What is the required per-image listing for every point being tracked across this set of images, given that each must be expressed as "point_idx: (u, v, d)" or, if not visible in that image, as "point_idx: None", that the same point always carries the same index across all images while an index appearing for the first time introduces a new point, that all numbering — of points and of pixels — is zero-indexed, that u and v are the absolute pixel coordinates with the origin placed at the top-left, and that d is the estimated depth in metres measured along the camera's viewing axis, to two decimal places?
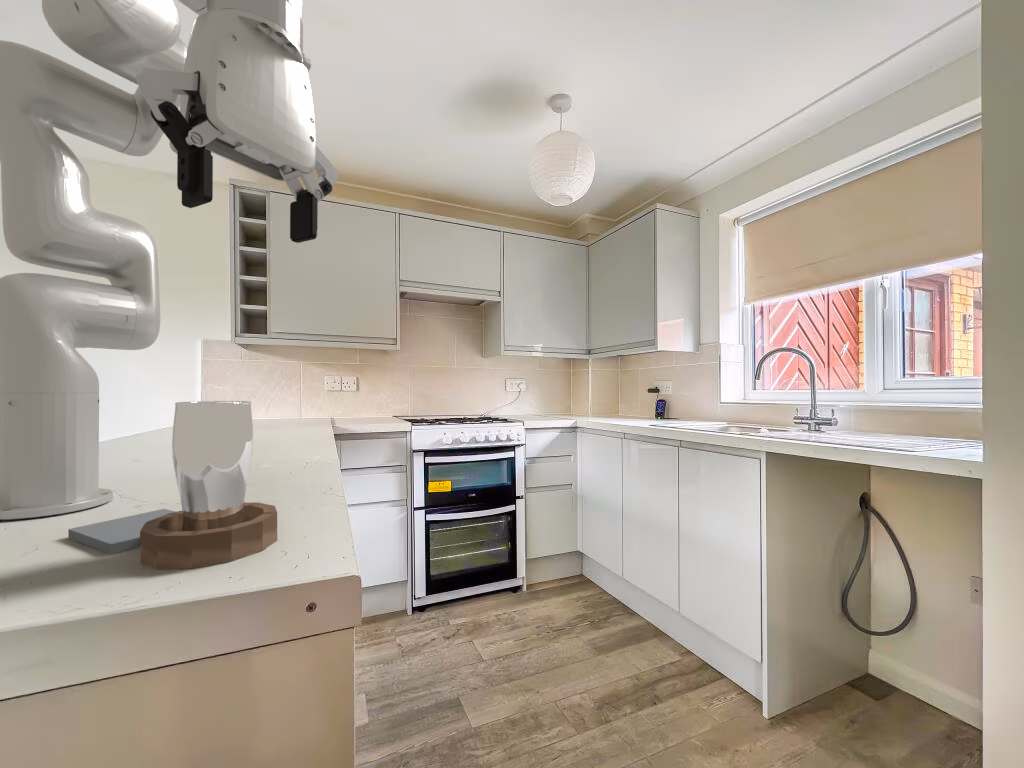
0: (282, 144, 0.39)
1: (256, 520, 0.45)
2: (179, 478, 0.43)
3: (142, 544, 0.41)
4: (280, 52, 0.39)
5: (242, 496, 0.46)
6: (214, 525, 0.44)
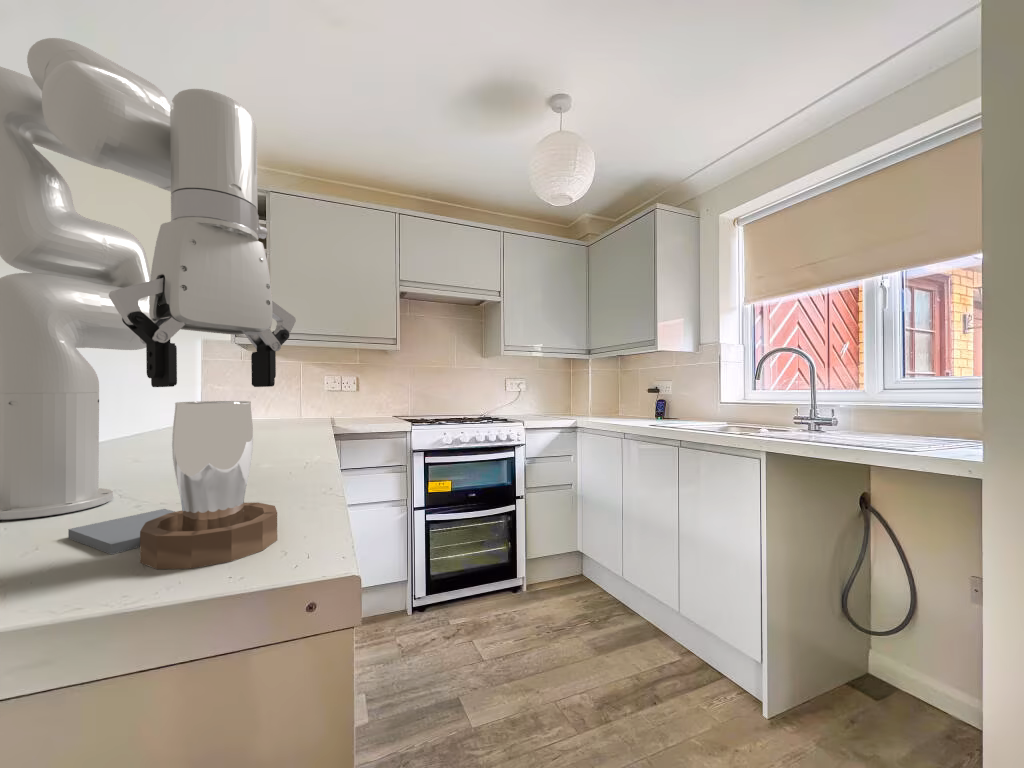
0: (240, 317, 0.46)
1: (256, 520, 0.45)
2: (179, 478, 0.43)
3: (142, 544, 0.41)
4: (236, 240, 0.45)
5: (242, 496, 0.46)
6: (214, 525, 0.44)
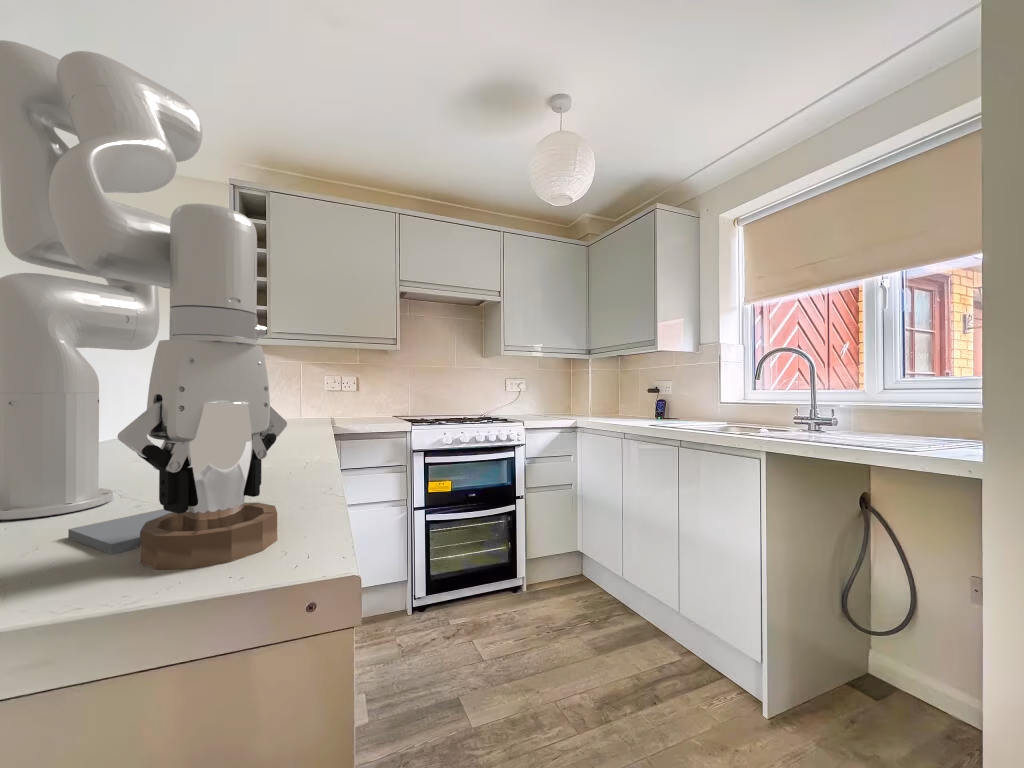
0: None
1: (256, 520, 0.45)
2: None
3: (142, 544, 0.41)
4: (235, 350, 0.45)
5: (242, 496, 0.46)
6: (214, 525, 0.44)
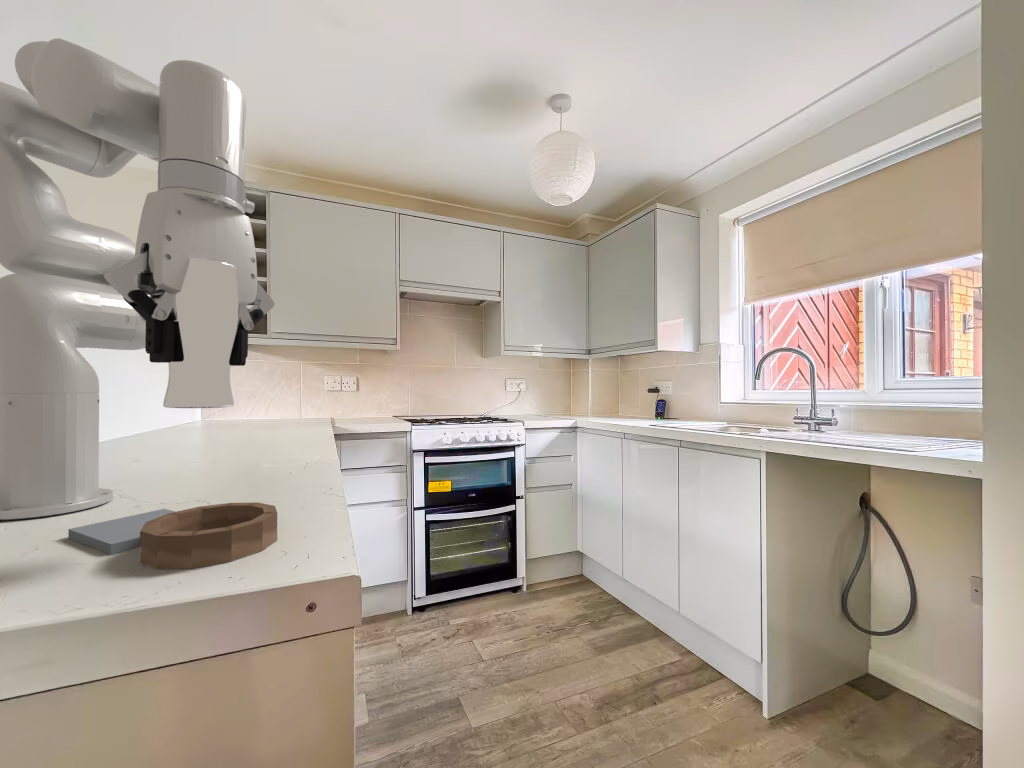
0: None
1: (256, 520, 0.45)
2: None
3: (142, 544, 0.41)
4: (222, 212, 0.46)
5: (228, 359, 0.47)
6: (200, 379, 0.44)
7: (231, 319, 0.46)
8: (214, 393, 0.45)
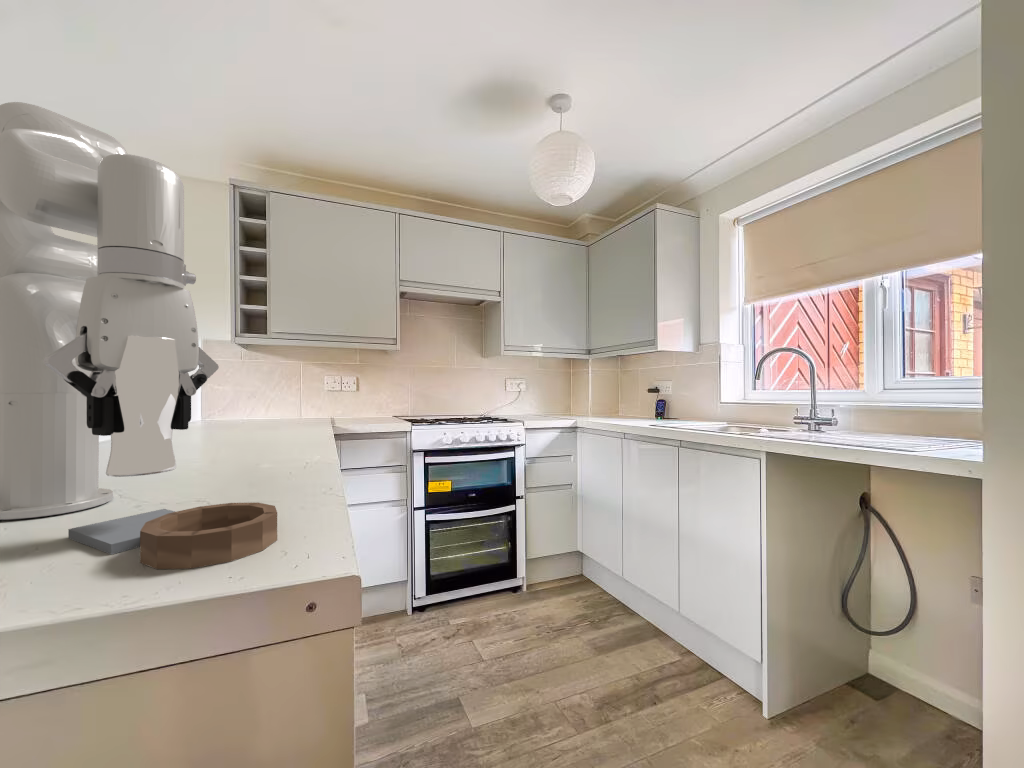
0: None
1: (256, 520, 0.45)
2: None
3: (142, 544, 0.41)
4: (160, 290, 0.49)
5: (169, 426, 0.50)
6: (139, 448, 0.47)
7: (170, 389, 0.49)
8: (154, 460, 0.48)
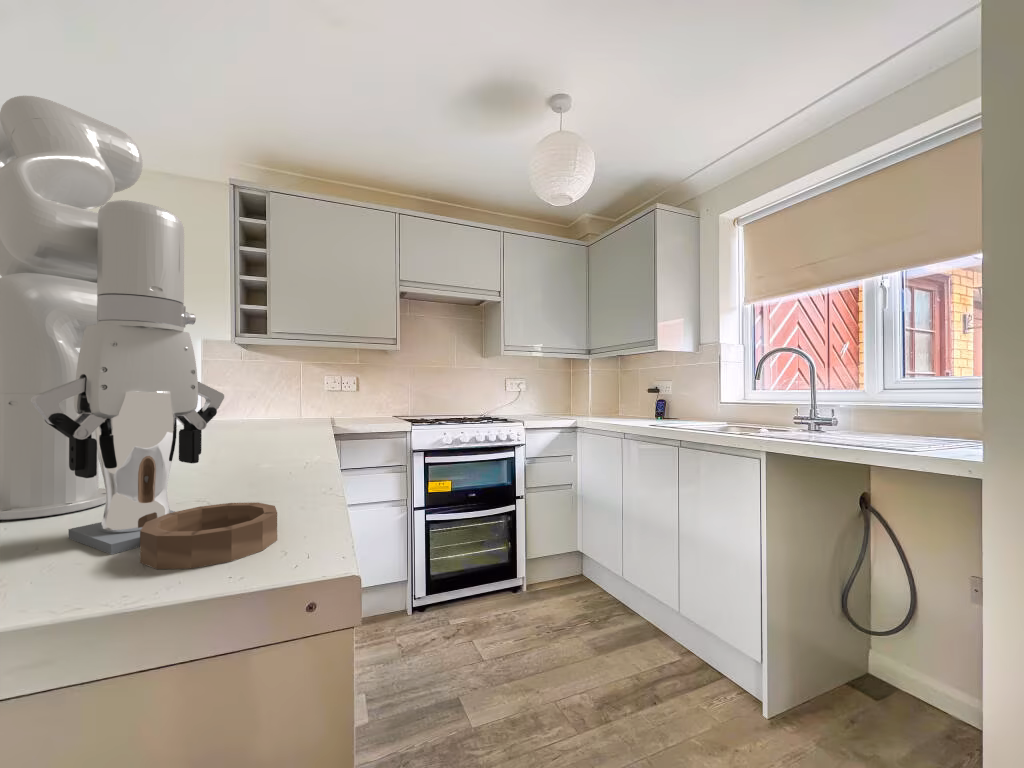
0: None
1: (256, 520, 0.45)
2: (101, 461, 0.47)
3: (142, 544, 0.41)
4: (159, 335, 0.49)
5: (164, 478, 0.50)
6: (134, 504, 0.47)
7: (166, 442, 0.49)
8: (149, 515, 0.48)
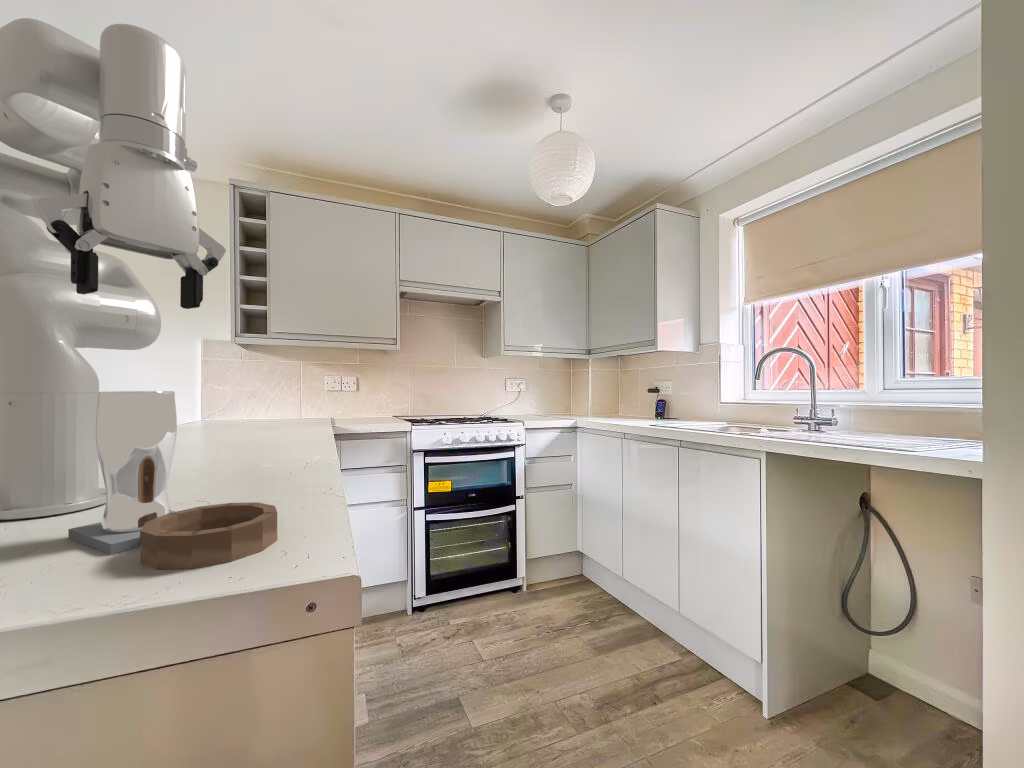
0: (164, 237, 0.50)
1: (256, 520, 0.45)
2: (101, 461, 0.47)
3: (142, 544, 0.41)
4: (161, 166, 0.49)
5: (164, 478, 0.50)
6: (134, 504, 0.47)
7: (166, 442, 0.49)
8: (149, 515, 0.48)
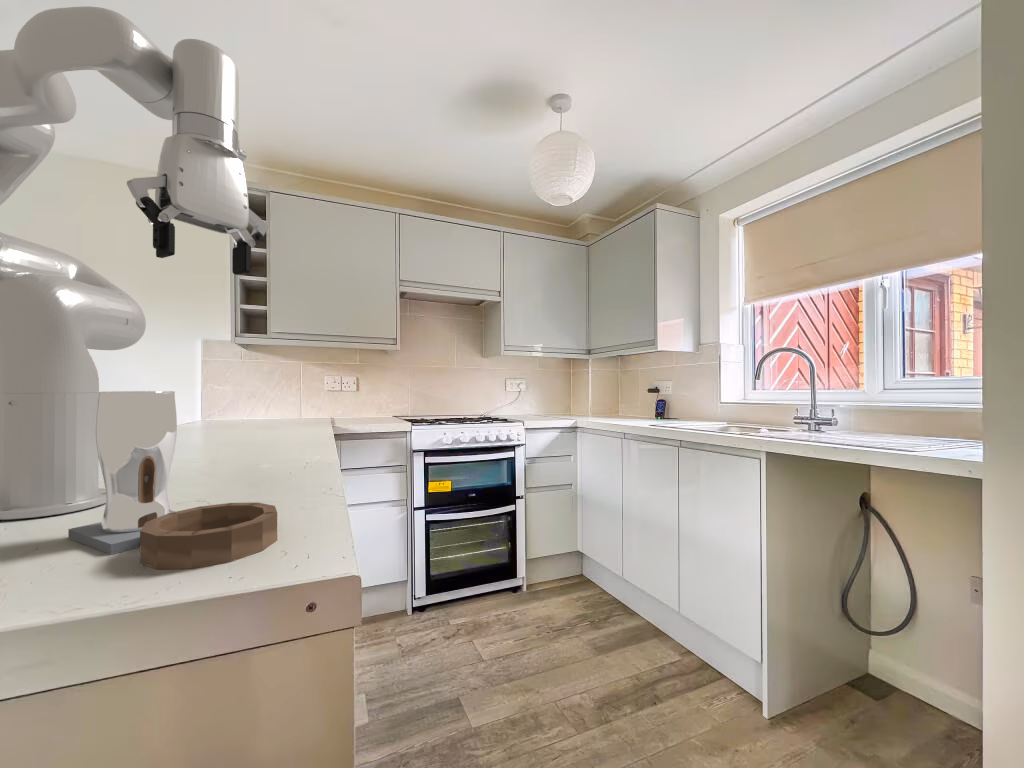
0: (223, 213, 0.61)
1: (256, 520, 0.45)
2: (101, 461, 0.47)
3: (142, 544, 0.41)
4: (221, 155, 0.60)
5: (164, 478, 0.50)
6: (135, 504, 0.47)
7: (166, 442, 0.49)
8: (149, 515, 0.48)
